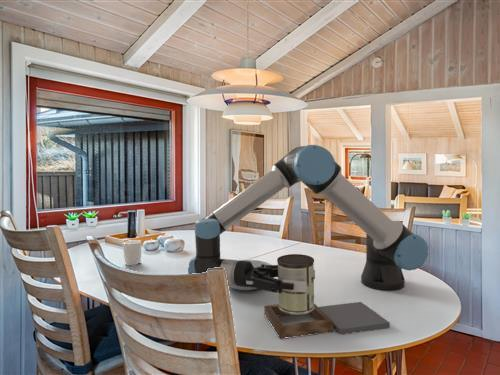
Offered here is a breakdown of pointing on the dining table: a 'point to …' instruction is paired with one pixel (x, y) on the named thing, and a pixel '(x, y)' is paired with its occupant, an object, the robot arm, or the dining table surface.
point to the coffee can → (297, 270)
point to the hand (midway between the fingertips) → (310, 280)
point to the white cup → (132, 251)
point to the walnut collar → (298, 328)
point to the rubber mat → (354, 318)
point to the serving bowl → (255, 265)
